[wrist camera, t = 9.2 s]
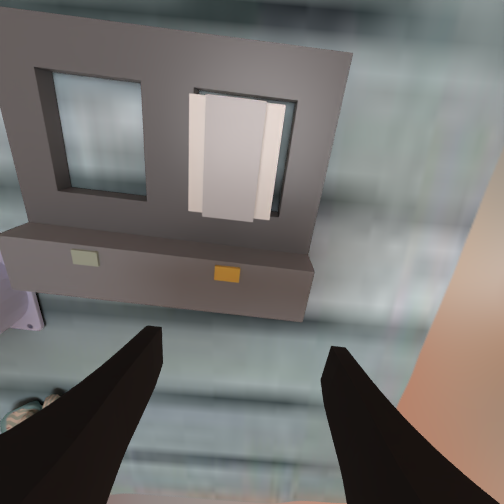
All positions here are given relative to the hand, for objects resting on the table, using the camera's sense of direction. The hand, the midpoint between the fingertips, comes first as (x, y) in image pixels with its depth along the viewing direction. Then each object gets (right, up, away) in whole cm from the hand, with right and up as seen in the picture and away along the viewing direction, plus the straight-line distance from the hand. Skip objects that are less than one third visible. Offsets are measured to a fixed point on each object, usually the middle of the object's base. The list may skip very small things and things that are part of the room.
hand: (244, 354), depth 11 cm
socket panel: (-5, +10, +7) cm, 13 cm away
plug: (0, +11, +6) cm, 13 cm away
